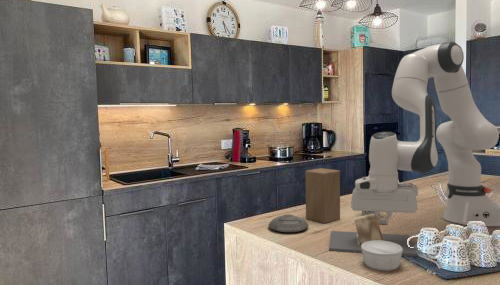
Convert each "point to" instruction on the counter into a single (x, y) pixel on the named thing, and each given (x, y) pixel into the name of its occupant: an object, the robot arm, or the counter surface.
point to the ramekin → (381, 254)
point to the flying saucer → (288, 223)
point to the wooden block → (323, 195)
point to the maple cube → (368, 228)
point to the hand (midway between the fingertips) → (383, 224)
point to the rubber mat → (352, 244)
